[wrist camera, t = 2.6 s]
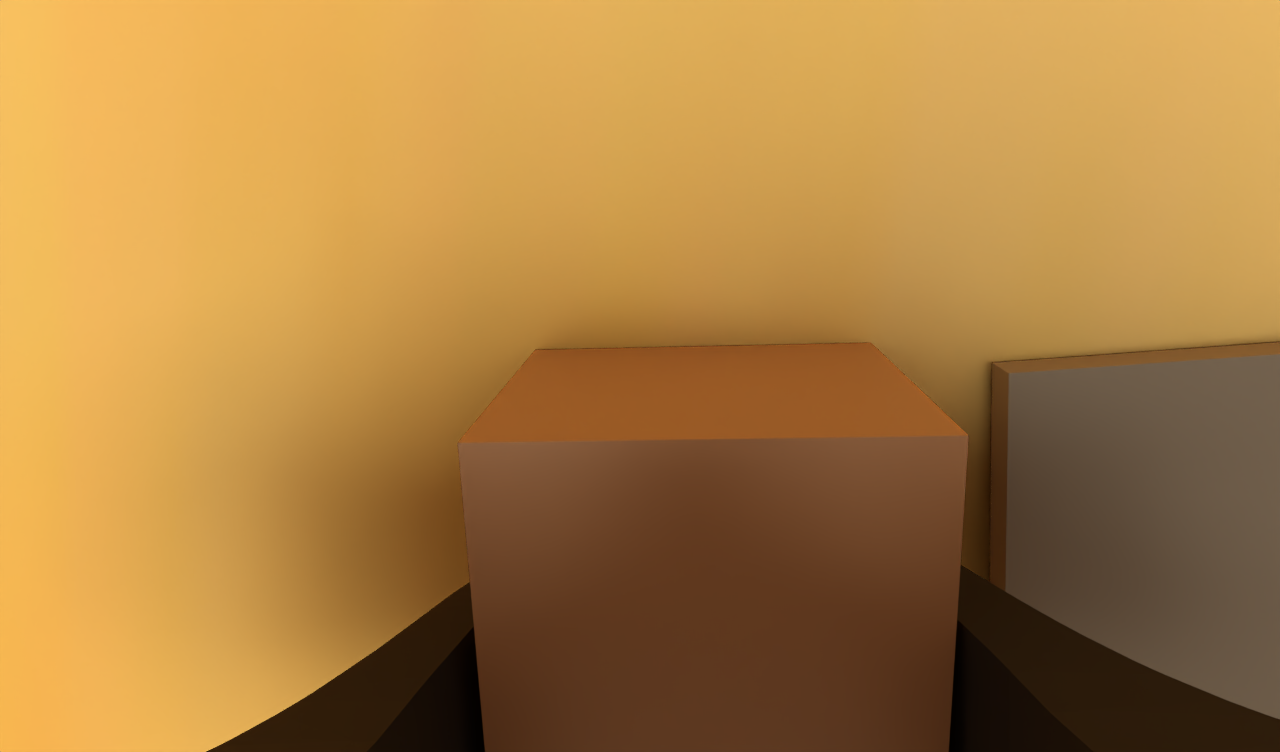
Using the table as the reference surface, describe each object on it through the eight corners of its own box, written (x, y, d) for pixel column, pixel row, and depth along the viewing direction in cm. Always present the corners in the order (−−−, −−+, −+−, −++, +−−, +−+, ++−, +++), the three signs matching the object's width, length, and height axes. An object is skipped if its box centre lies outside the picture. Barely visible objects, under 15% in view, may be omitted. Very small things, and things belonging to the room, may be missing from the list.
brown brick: (870, 342, 11) (968, 435, 7) (856, 791, 13) (929, 1062, 9) (535, 349, 11) (457, 442, 8) (563, 788, 13) (511, 1049, 9)
